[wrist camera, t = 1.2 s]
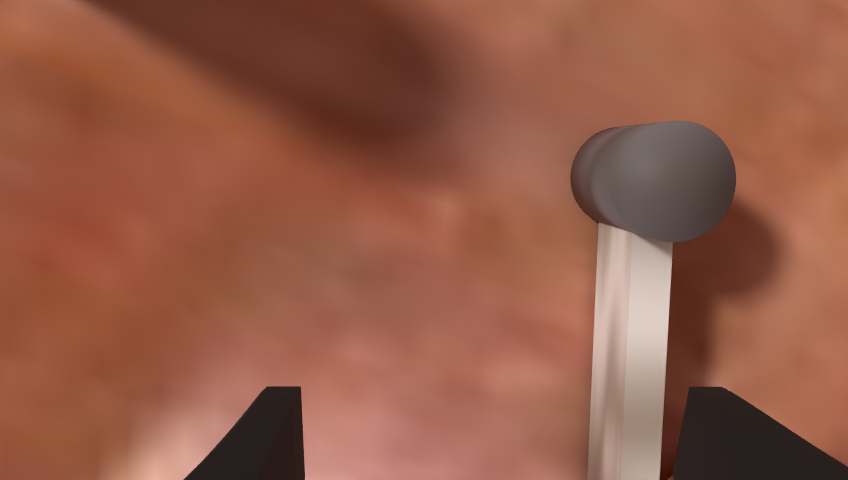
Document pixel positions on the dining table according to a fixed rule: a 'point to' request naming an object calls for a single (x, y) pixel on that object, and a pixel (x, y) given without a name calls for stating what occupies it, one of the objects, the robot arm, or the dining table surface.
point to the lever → (641, 273)
